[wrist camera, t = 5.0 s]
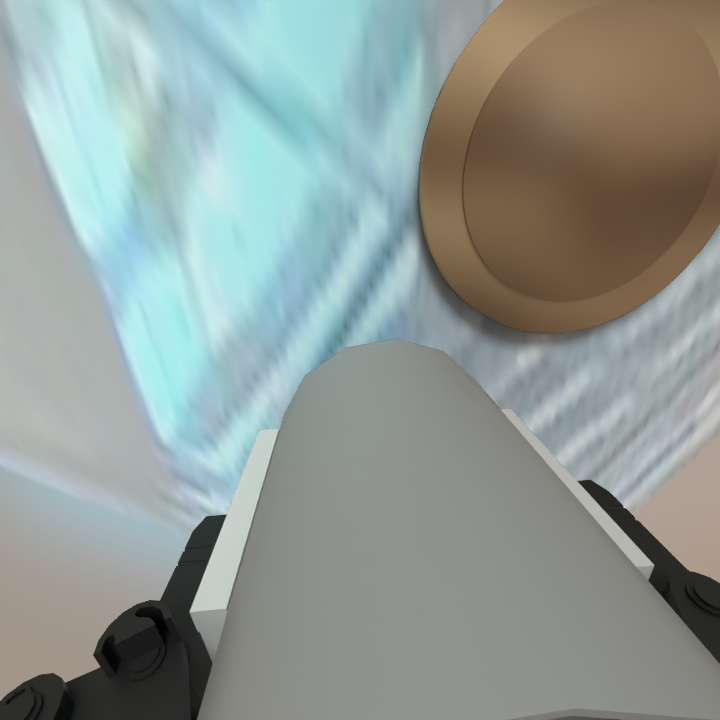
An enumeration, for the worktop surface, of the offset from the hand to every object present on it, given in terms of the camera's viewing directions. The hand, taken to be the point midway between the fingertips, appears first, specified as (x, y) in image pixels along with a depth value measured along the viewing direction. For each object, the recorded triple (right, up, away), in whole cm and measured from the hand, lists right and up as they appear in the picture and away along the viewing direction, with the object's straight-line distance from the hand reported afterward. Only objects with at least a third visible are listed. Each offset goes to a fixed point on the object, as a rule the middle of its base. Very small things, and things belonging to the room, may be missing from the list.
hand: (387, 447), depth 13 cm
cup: (0, +1, 0) cm, 1 cm away
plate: (+7, +11, -1) cm, 13 cm away
